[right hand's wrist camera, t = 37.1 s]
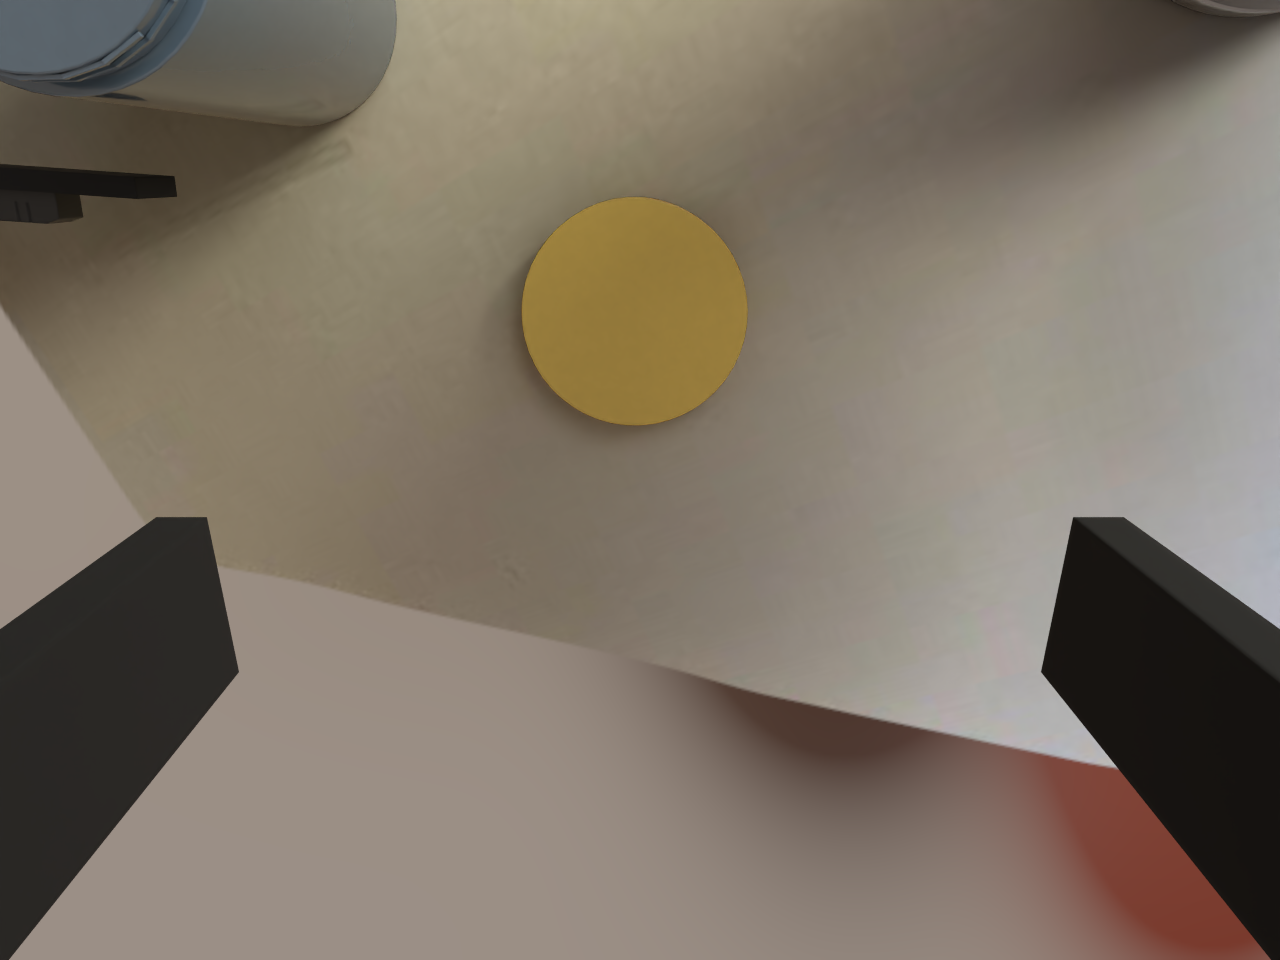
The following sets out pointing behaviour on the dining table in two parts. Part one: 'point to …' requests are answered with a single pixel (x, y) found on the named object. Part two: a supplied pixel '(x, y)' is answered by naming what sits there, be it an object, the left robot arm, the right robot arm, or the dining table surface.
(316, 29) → the jar
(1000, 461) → the dining table surface
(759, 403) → the dining table surface
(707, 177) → the dining table surface
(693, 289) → the lid
